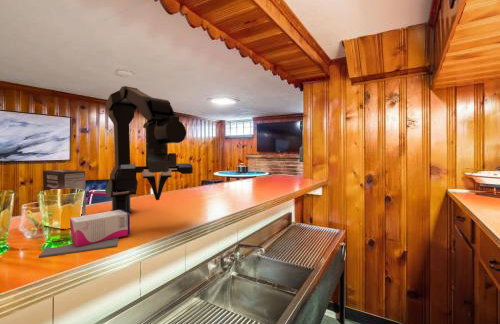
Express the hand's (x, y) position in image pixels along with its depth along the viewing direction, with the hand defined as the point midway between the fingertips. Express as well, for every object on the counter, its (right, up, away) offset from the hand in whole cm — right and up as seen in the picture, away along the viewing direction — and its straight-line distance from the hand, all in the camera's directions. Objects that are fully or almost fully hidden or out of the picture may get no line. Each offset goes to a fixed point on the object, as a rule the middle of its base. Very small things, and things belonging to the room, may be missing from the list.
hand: (157, 200), depth 68 cm
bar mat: (-14, -8, -8) cm, 18 cm away
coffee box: (-28, -8, +3) cm, 29 cm away
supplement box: (-7, -5, -4) cm, 9 cm away
